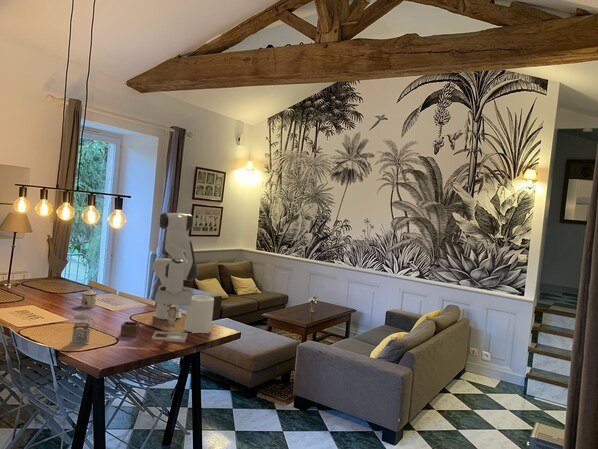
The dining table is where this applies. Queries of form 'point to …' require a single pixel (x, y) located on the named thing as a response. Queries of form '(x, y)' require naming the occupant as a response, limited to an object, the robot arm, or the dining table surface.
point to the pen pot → (129, 329)
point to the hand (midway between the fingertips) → (172, 312)
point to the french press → (81, 330)
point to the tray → (171, 336)
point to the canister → (199, 314)
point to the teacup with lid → (88, 299)
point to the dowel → (171, 317)
